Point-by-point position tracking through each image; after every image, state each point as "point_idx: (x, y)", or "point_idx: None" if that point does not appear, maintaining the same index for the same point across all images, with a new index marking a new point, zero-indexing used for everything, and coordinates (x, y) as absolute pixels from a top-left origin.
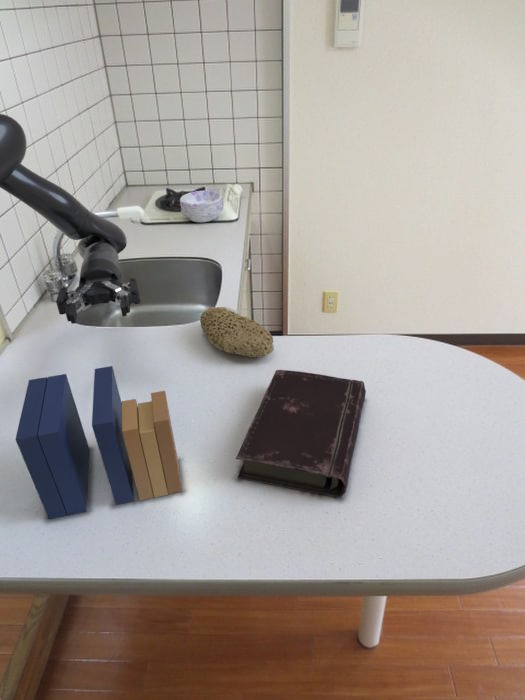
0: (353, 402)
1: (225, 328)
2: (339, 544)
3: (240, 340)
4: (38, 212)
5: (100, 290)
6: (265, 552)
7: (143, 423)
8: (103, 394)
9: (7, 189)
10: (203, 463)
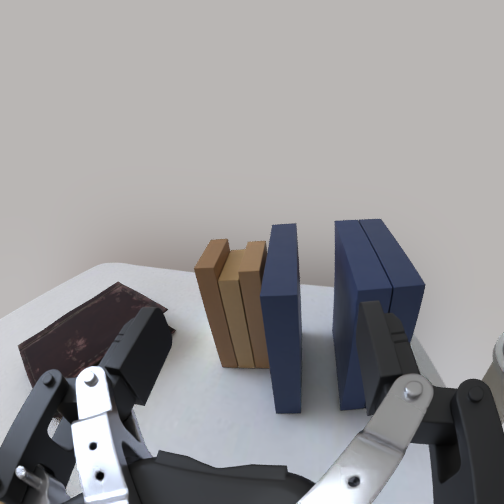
0: (44, 331)
1: None
2: (152, 280)
3: None
4: None
5: (189, 496)
6: (194, 283)
7: (239, 257)
8: (281, 250)
9: None
10: (196, 357)
